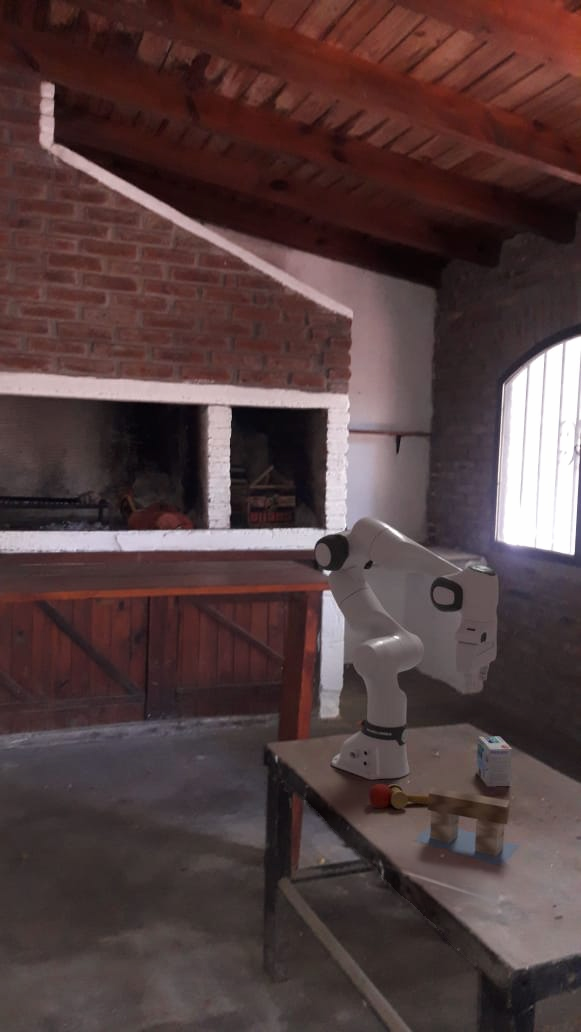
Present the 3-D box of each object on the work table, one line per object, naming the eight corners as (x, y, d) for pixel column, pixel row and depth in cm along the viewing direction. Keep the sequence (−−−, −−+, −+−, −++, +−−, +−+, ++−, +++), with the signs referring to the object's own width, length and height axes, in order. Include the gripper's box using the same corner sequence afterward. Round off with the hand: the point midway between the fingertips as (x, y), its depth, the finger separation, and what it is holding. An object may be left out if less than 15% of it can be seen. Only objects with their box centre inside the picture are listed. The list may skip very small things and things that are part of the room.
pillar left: (430, 837, 197) (431, 808, 196) (438, 829, 201) (439, 801, 200) (450, 843, 194) (451, 814, 193) (457, 835, 198) (459, 806, 198)
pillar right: (474, 850, 191) (476, 821, 190) (482, 842, 195) (483, 813, 194) (496, 856, 188) (497, 826, 188) (503, 848, 192) (504, 818, 192)
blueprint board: (414, 842, 195) (414, 840, 195) (433, 824, 205) (434, 821, 205) (502, 868, 184) (502, 866, 184) (518, 847, 194) (518, 845, 194)
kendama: (429, 803, 221) (364, 795, 218) (435, 782, 219) (369, 774, 217) (437, 821, 213) (369, 813, 211) (443, 799, 212) (375, 791, 209)
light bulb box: (475, 772, 240) (477, 735, 239) (498, 772, 241) (500, 735, 240) (487, 787, 230) (489, 748, 229) (511, 787, 230) (513, 748, 229)
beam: (427, 809, 195) (428, 793, 195) (431, 803, 199) (432, 787, 199) (506, 824, 189) (507, 807, 189) (508, 817, 193) (509, 800, 192)
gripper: (480, 622, 221) (478, 673, 222) (452, 635, 203) (449, 690, 204) (504, 625, 217) (501, 677, 218) (477, 638, 200) (474, 695, 201)
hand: (476, 684), depth 211 cm, fingers open, 8 cm apart
